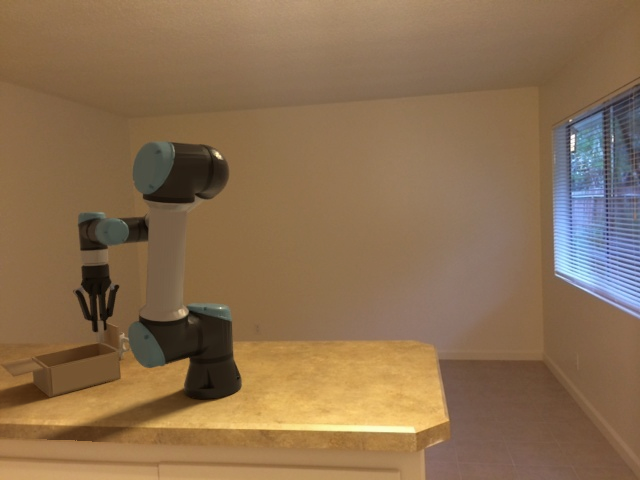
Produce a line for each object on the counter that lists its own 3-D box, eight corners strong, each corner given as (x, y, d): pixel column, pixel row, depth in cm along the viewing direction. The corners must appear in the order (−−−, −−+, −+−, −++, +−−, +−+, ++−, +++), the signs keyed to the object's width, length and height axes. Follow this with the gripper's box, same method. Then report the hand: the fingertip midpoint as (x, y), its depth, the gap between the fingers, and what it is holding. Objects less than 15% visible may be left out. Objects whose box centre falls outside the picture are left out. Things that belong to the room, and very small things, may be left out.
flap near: (42, 367, 131) (13, 375, 127) (42, 369, 131) (13, 376, 127) (28, 357, 142) (0, 363, 137) (28, 358, 142) (1, 365, 137)
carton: (121, 379, 145) (119, 352, 144) (50, 398, 132) (48, 368, 131) (100, 366, 157) (98, 342, 157) (33, 383, 144) (30, 356, 144)
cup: (138, 354, 170) (136, 331, 169) (126, 361, 162) (125, 337, 161) (108, 354, 171) (106, 332, 170) (95, 362, 163) (93, 338, 162)
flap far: (120, 349, 146) (118, 326, 145) (119, 349, 145) (117, 327, 145) (102, 341, 156) (100, 320, 156) (100, 341, 156) (98, 320, 155)
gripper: (112, 261, 154) (117, 335, 156) (67, 265, 145) (73, 344, 147) (121, 262, 149) (126, 339, 151) (76, 267, 140) (82, 349, 142)
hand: (100, 341), depth 149 cm, fingers closed
